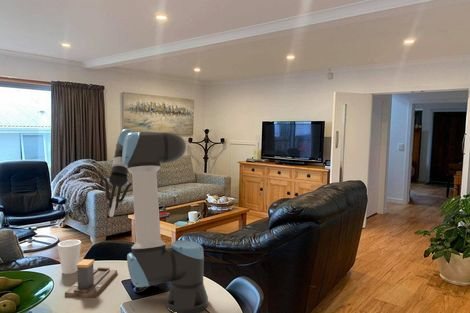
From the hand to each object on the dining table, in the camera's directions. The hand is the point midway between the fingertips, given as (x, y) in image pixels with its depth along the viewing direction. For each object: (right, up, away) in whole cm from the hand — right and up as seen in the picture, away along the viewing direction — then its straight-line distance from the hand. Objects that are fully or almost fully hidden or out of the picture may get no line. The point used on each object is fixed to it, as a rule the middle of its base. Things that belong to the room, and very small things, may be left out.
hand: (111, 215), depth 152 cm
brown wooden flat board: (-4, -27, -10) cm, 29 cm away
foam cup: (-20, -26, +3) cm, 33 cm away
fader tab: (-4, -25, -16) cm, 30 cm away
